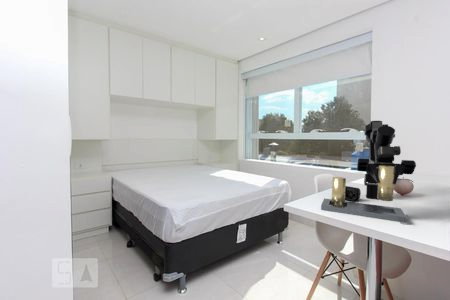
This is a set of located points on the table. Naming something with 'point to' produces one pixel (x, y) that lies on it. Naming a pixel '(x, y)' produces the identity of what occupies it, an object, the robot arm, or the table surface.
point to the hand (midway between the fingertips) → (386, 183)
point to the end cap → (352, 194)
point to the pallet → (366, 210)
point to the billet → (338, 191)
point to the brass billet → (385, 183)
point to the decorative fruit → (403, 186)
